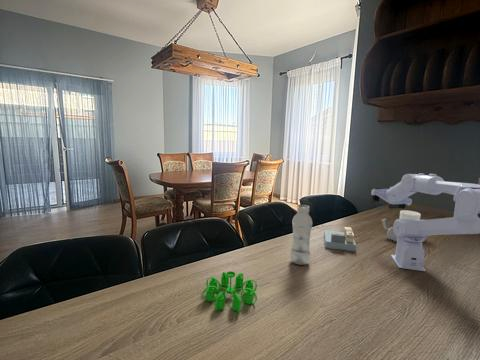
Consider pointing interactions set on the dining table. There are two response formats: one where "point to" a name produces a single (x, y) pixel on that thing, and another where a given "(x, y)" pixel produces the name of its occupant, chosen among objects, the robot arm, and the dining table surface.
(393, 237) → the lighter
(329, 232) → the blue-grey block
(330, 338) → the dining table surface
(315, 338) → the dining table surface
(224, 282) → the chandelier
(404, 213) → the white cup
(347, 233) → the folding leg
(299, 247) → the plastic bottle
